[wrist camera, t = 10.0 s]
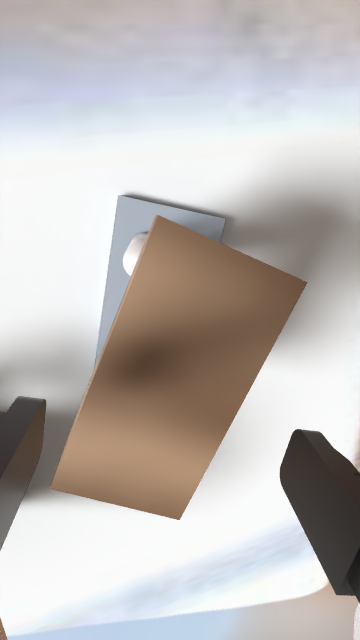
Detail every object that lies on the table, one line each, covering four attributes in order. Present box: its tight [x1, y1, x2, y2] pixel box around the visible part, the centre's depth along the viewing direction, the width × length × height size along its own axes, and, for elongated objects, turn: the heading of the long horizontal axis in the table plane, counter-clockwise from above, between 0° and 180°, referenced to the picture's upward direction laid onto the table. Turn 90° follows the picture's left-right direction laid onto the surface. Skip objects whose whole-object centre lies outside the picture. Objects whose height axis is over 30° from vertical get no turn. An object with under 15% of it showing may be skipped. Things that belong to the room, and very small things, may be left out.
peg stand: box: [94, 195, 226, 369], centre depth 21 cm, size 15×8×11 cm, turn 168°
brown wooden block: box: [50, 215, 307, 520], centre depth 15 cm, size 12×6×4 cm, turn 156°
